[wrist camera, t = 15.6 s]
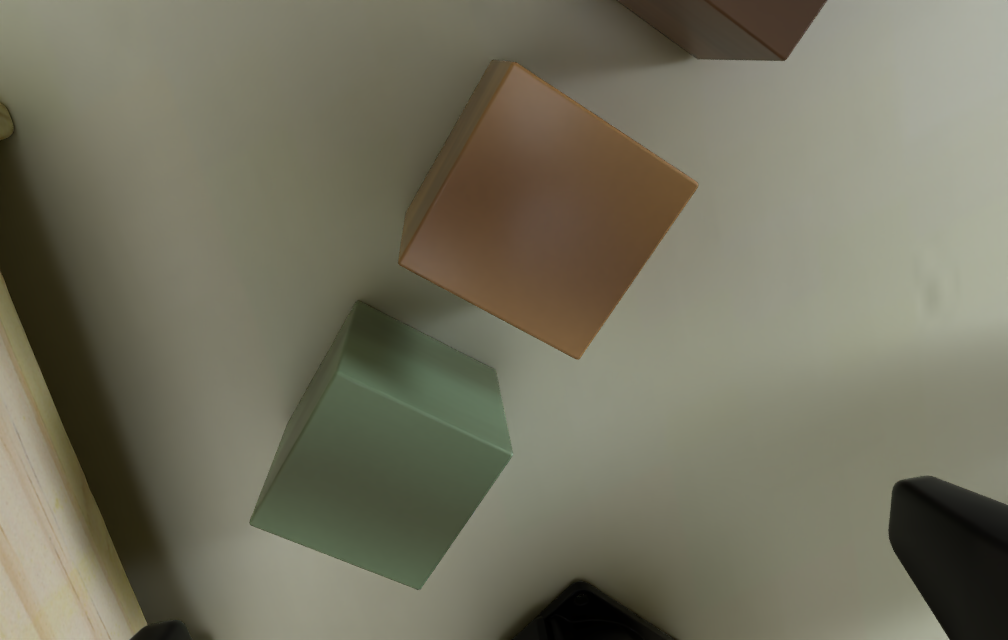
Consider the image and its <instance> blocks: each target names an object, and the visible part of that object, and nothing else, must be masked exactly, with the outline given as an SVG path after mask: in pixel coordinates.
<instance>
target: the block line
mask: <svg viewBox="0 0 1008 640" xmlns="http://www.w3.org/2000/svg"><path fill="white" fill-rule="evenodd" d="M617 1H619V2H620V3H621V4H623V5H624V6H625V7H627V8H628V9H630V10H631V11H632V12H634V13H635V14H636V15H638V16H639V17H640V18H642V19H643V20H645V21H646V22H647V23H649V24H650V25H651V26H653V27H654V28H656V29H657V30H658V31H660V32H661V33H662V34H664V35H665V36H667V37H668V38H669V39H671V40H672V41H673V42H675V43H676V44H678V45H679V46H680V47H682V48H683V49H684V50H686V51H687V52H689V53H690V54H691V55H693V56H694V57H695V58H697V59H710V60H764V61H785V60H786V59H787V58H788V57H789V55H790V54H791V52H792V51H793V49H794V48H795V46H796V45H797V44H798V42H799V41H800V39H801V38H802V36H803V35H804V33H805V32H806V30H807V29H808V28H809V26H810V25H811V23H812V22H813V20H814V19H815V17H816V16H817V15H818V13H819V12H820V10H821V9H822V7H823V6H824V4H825V3H826V1H827V0H617ZM698 186H699V184H698V183H697V182H696V181H695V180H693V179H692V178H690V177H689V176H687V175H686V174H684V173H683V172H681V171H680V170H678V169H677V168H675V167H674V166H672V165H671V164H669V163H668V162H666V161H665V160H663V159H662V158H660V157H659V156H657V155H656V154H654V153H652V152H651V151H649V150H648V149H646V148H645V147H643V146H642V145H640V144H639V143H637V142H636V141H634V140H633V139H631V138H630V137H628V136H627V135H625V134H624V133H622V132H621V131H619V130H618V129H616V128H615V127H613V126H612V125H610V124H609V123H607V122H606V121H604V120H603V119H601V118H600V117H598V116H597V115H595V114H594V113H592V112H591V111H589V110H588V109H586V108H585V107H583V106H582V105H580V104H578V103H577V102H575V101H574V100H572V99H571V98H569V97H568V96H566V95H565V94H563V93H562V92H560V91H559V90H557V89H556V88H554V87H553V86H551V85H550V84H548V83H547V82H545V81H544V80H542V79H541V78H539V77H538V76H536V75H535V74H533V73H532V72H530V71H529V70H527V69H526V68H524V67H523V66H521V65H520V64H518V63H517V62H511V61H500V60H492V61H491V62H490V64H489V65H488V67H487V69H486V71H485V73H484V74H483V76H482V78H481V80H480V81H479V83H478V85H477V87H476V89H475V90H474V92H473V94H472V96H471V98H470V99H469V101H468V103H467V105H466V106H465V108H464V110H463V112H462V114H461V115H460V117H459V119H458V121H457V122H456V124H455V126H454V128H453V130H452V131H451V133H450V135H449V137H448V139H447V140H446V142H445V144H444V146H443V147H442V149H441V151H440V153H439V155H438V156H437V158H436V160H435V162H434V163H433V165H432V167H431V169H430V171H429V172H428V174H427V176H426V178H425V180H424V181H423V183H422V185H421V187H420V188H419V190H418V192H417V194H416V196H415V197H414V199H413V201H412V203H411V204H410V206H409V208H408V210H407V212H406V214H405V221H404V227H403V233H402V240H401V246H400V252H399V259H398V264H399V265H400V266H402V267H404V268H406V269H407V270H409V271H411V272H413V273H415V274H417V275H419V276H421V277H422V278H424V279H426V280H428V281H430V282H432V283H434V284H436V285H437V286H439V287H441V288H443V289H445V290H447V291H449V292H451V293H453V294H454V295H456V296H458V297H460V298H462V299H464V300H466V301H468V302H469V303H471V304H473V305H475V306H477V307H479V308H481V309H483V310H484V311H486V312H488V313H490V314H492V315H494V316H496V317H498V318H499V319H501V320H503V321H505V322H507V323H509V324H511V325H513V326H514V327H516V328H518V329H520V330H522V331H524V332H526V333H528V334H529V335H531V336H533V337H535V338H537V339H539V340H541V341H543V342H545V343H546V344H548V345H550V346H552V347H554V348H556V349H558V350H560V351H561V352H563V353H565V354H567V355H569V356H571V357H573V358H575V359H580V357H581V356H582V355H583V353H584V352H585V350H586V349H587V347H588V346H589V344H590V343H591V342H592V340H593V339H594V337H595V336H596V334H597V333H598V331H599V330H600V328H601V327H602V326H603V324H604V323H605V321H606V320H607V318H608V317H609V315H610V314H611V313H612V311H613V310H614V308H615V307H616V305H617V304H618V302H619V301H620V300H621V298H622V297H623V295H624V294H625V292H626V291H627V289H628V288H629V286H630V285H631V284H632V282H633V281H634V279H635V278H636V276H637V275H638V273H639V272H640V271H641V269H642V268H643V266H644V265H645V263H646V262H647V260H648V259H649V257H650V256H651V255H652V253H653V252H654V250H655V249H656V247H657V246H658V244H659V243H660V242H661V240H662V239H663V237H664V236H665V234H666V233H667V231H668V230H669V228H670V227H671V226H672V224H673V223H674V221H675V220H676V218H677V217H678V215H679V214H680V213H681V211H682V210H683V208H684V207H685V205H686V204H687V202H688V201H689V199H690V198H691V197H692V195H693V194H694V192H695V191H696V189H697V188H698ZM512 456H513V451H512V446H511V441H510V437H509V432H508V427H507V422H506V417H505V412H504V408H503V403H502V398H501V393H500V388H499V383H498V379H497V374H496V371H495V370H494V369H492V368H490V367H488V366H487V365H485V364H483V363H481V362H479V361H477V360H475V359H473V358H471V357H469V356H467V355H465V354H463V353H461V352H459V351H457V350H455V349H453V348H451V347H449V346H447V345H445V344H443V343H441V342H439V341H437V340H435V339H433V338H431V337H429V336H427V335H425V334H423V333H421V332H419V331H417V330H415V329H413V328H411V327H410V326H408V325H406V324H404V323H402V322H400V321H398V320H396V319H394V318H392V317H390V316H388V315H386V314H384V313H382V312H380V311H378V310H376V309H374V308H372V307H370V306H368V305H366V304H364V303H362V302H360V301H357V302H356V303H355V304H354V306H353V308H352V310H351V311H350V313H349V315H348V317H347V319H346V320H345V322H344V324H343V326H342V327H341V329H340V331H339V333H338V335H337V336H336V338H335V340H334V342H333V344H332V345H331V347H330V349H329V351H328V352H327V354H326V356H325V358H324V360H323V361H322V363H321V365H320V367H319V368H318V370H317V372H316V374H315V376H314V377H313V379H312V381H311V383H310V385H309V386H308V388H307V390H306V392H305V393H304V395H303V397H302V399H301V401H300V402H299V404H298V406H297V408H296V409H295V411H294V413H293V415H292V417H291V418H290V420H289V422H288V424H287V426H286V429H285V431H284V434H283V436H282V439H281V442H280V444H279V447H278V449H277V452H276V454H275V457H274V460H273V462H272V465H271V467H270V470H269V472H268V475H267V478H266V480H265V483H264V485H263V488H262V491H261V493H260V496H259V498H258V501H257V503H256V506H255V509H254V511H253V514H252V516H251V519H250V525H251V526H254V527H257V528H259V529H262V530H264V531H267V532H270V533H272V534H275V535H277V536H280V537H283V538H285V539H288V540H290V541H293V542H295V543H298V544H301V545H303V546H306V547H308V548H311V549H314V550H316V551H319V552H321V553H324V554H327V555H329V556H332V557H334V558H337V559H340V560H342V561H345V562H347V563H350V564H352V565H355V566H358V567H360V568H363V569H365V570H368V571H371V572H373V573H376V574H378V575H381V576H384V577H386V578H389V579H391V580H394V581H397V582H399V583H402V584H404V585H407V586H410V587H412V588H415V589H417V590H420V589H421V588H422V586H423V585H424V584H425V582H426V581H427V579H428V578H429V576H430V575H431V573H432V572H433V570H434V569H435V568H436V566H437V565H438V563H439V562H440V560H441V559H442V557H443V556H444V555H445V553H446V552H447V550H448V549H449V547H450V546H451V544H452V543H453V541H454V540H455V539H456V537H457V536H458V534H459V533H460V531H461V530H462V528H463V527H464V526H465V524H466V523H467V521H468V520H469V518H470V517H471V515H472V514H473V512H474V511H475V510H476V508H477V507H478V505H479V504H480V502H481V501H482V499H483V498H484V497H485V495H486V494H487V492H488V491H489V489H490V488H491V486H492V485H493V483H494V482H495V481H496V479H497V478H498V476H499V475H500V473H501V472H502V470H503V469H504V468H505V466H506V465H507V463H508V462H509V460H510V459H511V457H512Z"/></svg>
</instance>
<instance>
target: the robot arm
mask: <svg viewBox="0 0 1008 640" xmlns="http://www.w3.org/2000/svg"><path fill="white" fill-rule="evenodd" d="M888 531H889V539H890V543H891V546H892V548H893V550H894V552H895V554H896V555H897V557H898V559H899V560H900V562H901V563H902V565H903V566H904V568H905V570H906V571H907V573H908V574H909V576H910V578H911V579H912V581H913V582H914V584H915V585H916V587H917V589H918V590H919V592H920V593H921V595H922V596H923V598H924V600H925V601H926V603H927V604H928V606H929V608H930V609H931V611H932V612H933V614H934V615H935V617H936V619H937V620H938V622H939V623H940V625H941V627H942V628H943V630H944V631H945V633H946V634H947V636H948V638H949V639H950V640H1008V505H1006V504H1004V503H1001V502H998V501H996V500H993V499H991V498H988V497H985V496H983V495H980V494H977V493H975V492H972V491H970V490H967V489H964V488H962V487H959V486H956V485H954V484H951V483H949V482H946V481H943V480H941V479H938V478H935V477H932V476H920V477H915V478H909V479H904V480H900V481H898V482H897V483H896V484H895V485H894V487H893V490H892V498H891V508H890V519H889V529H888ZM581 594H584V595H583V596H581V597H577V596H578V595H581ZM129 640H192V638H191V636H190V634H189V632H188V629H187V627H186V626H185V624H184V623H183V622H182V621H180V620H170V621H165V622H160V623H154V624H150V625H147V626H145V627H143V628H142V629H140V630H139V631H138V632H137V633H136V634H135V635H134V636H133V637H132V638H131V639H129ZM512 640H674V639H673V638H671V637H670V636H668V635H667V634H665V633H664V632H662V631H661V630H659V629H658V628H656V627H654V626H653V625H651V624H650V623H648V622H647V621H645V620H644V619H642V618H641V617H639V616H638V615H636V614H635V613H633V612H632V611H630V610H628V609H627V608H625V607H624V606H622V605H621V604H619V603H618V602H616V601H615V600H613V599H612V598H610V597H609V596H607V595H606V594H604V593H602V592H601V591H599V590H598V589H596V588H595V587H593V586H592V585H590V584H589V583H586V582H580V581H579V582H575V583H573V584H572V585H570V586H569V587H568V588H567V589H566V590H565V591H564V592H563V593H562V594H561V595H559V596H558V597H557V598H556V599H555V600H554V601H553V602H552V603H551V604H550V605H549V606H548V607H547V608H546V609H544V610H543V611H542V612H541V613H540V614H539V615H538V616H537V617H536V618H535V619H534V620H533V621H532V622H531V623H529V624H528V625H527V626H526V627H525V628H524V629H523V630H522V631H521V632H520V633H519V634H518V635H517V636H516V637H514V638H513V639H512Z"/></svg>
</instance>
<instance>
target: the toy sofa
mask: <svg viewBox="0 0 1008 640" xmlns="http://www.w3.org/2000/svg"><path fill="white" fill-rule="evenodd" d="M12 133H13V123H12V120H11V117H10V114H9V112H8V110H7V109H6V107H5V106H4V105H2V104H0V140H2V139H5V138H7V137H9V136H10V135H11V134H12ZM145 626H147V622H146V620H145V618H144V615H143V613H142V610H141V608H140V606H139V604H138V601H137V599H136V596H135V594H134V592H133V590H132V588H131V585H130V583H129V581H128V578H127V576H126V573H125V571H124V569H123V566H122V564H121V562H120V559H119V557H118V554H117V552H116V550H115V547H114V545H113V542H112V540H111V537H110V535H109V532H108V530H107V527H106V525H105V522H104V520H103V517H102V515H101V513H100V511H99V508H98V506H97V504H96V501H95V499H94V497H93V495H92V493H91V491H90V489H89V486H88V484H87V481H86V478H85V475H84V473H83V470H82V468H81V466H80V463H79V461H78V459H77V456H76V454H75V452H74V450H73V447H72V445H71V443H70V440H69V438H68V436H67V434H66V431H65V429H64V427H63V424H62V422H61V419H60V417H59V415H58V412H57V410H56V407H55V405H54V402H53V400H52V397H51V395H50V393H49V390H48V388H47V385H46V383H45V380H44V378H43V375H42V373H41V371H40V368H39V366H38V363H37V361H36V358H35V356H34V353H33V351H32V349H31V346H30V344H29V341H28V339H27V336H26V334H25V331H24V329H23V327H22V324H21V322H20V319H19V317H18V314H17V312H16V309H15V307H14V304H13V302H12V300H11V297H10V294H9V292H8V289H7V286H6V283H5V281H4V278H3V276H2V273H1V271H0V640H129V639H131V638H132V637H133V636H134V635H135V634H136V633H137V632H138V631H139V630H140V629H142V628H143V627H145Z"/></svg>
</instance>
